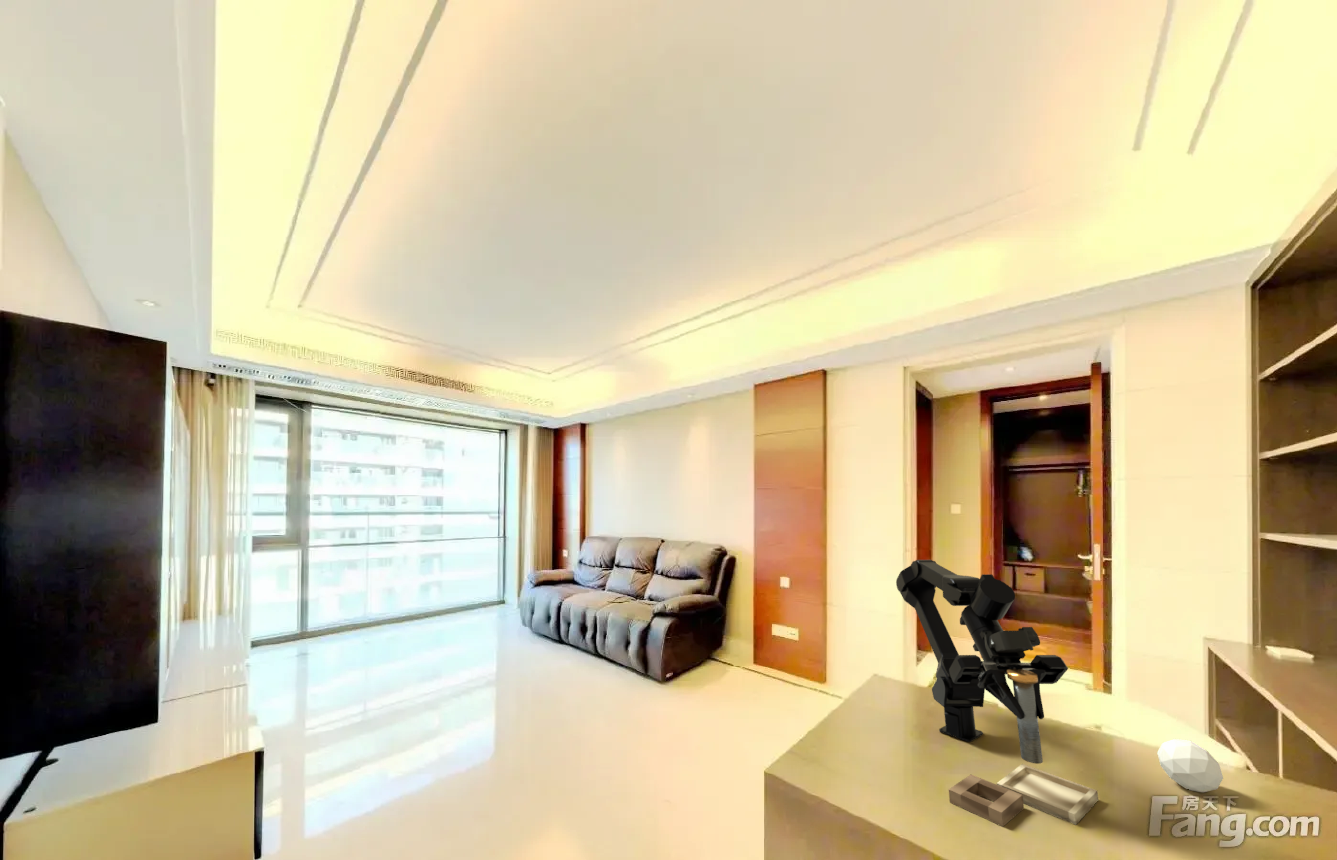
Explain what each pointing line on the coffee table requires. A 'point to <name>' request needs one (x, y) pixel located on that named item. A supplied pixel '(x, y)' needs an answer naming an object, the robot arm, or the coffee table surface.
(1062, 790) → the tray
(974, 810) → the block
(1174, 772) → the geometric ball
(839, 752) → the coffee table surface
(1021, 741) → the pin
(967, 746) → the coffee table surface
